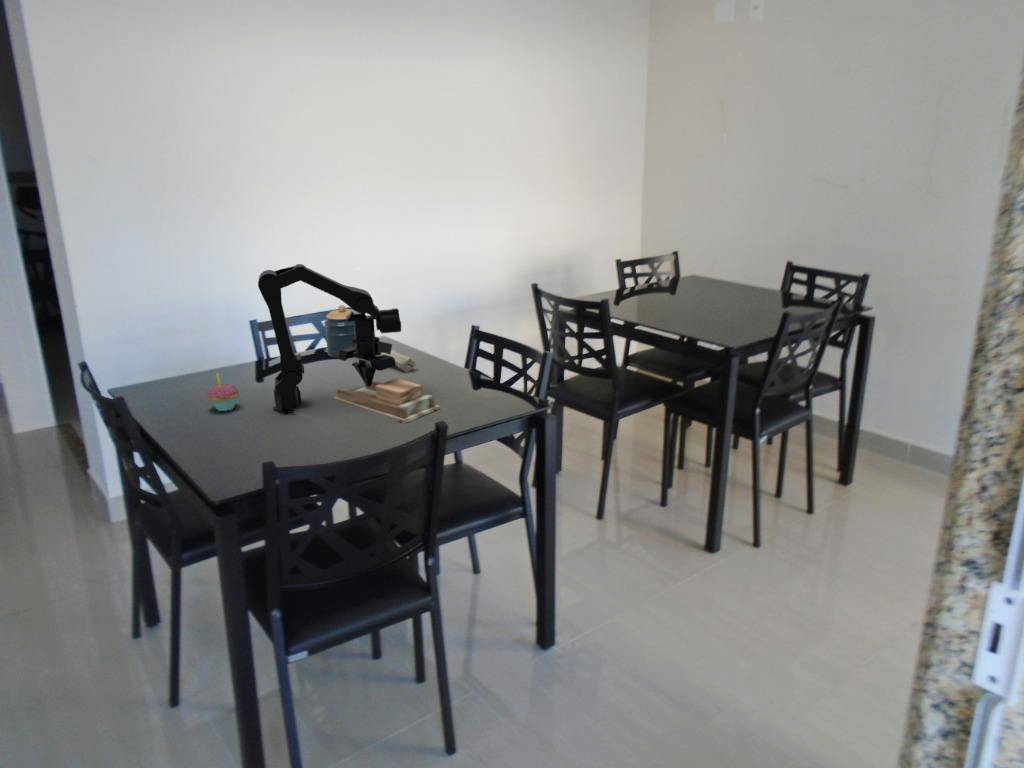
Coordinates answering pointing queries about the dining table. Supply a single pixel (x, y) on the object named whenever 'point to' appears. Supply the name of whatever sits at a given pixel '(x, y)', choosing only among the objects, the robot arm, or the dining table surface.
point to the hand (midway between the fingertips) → (368, 386)
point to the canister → (339, 331)
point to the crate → (398, 391)
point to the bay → (403, 412)
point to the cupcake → (223, 396)
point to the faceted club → (401, 360)
